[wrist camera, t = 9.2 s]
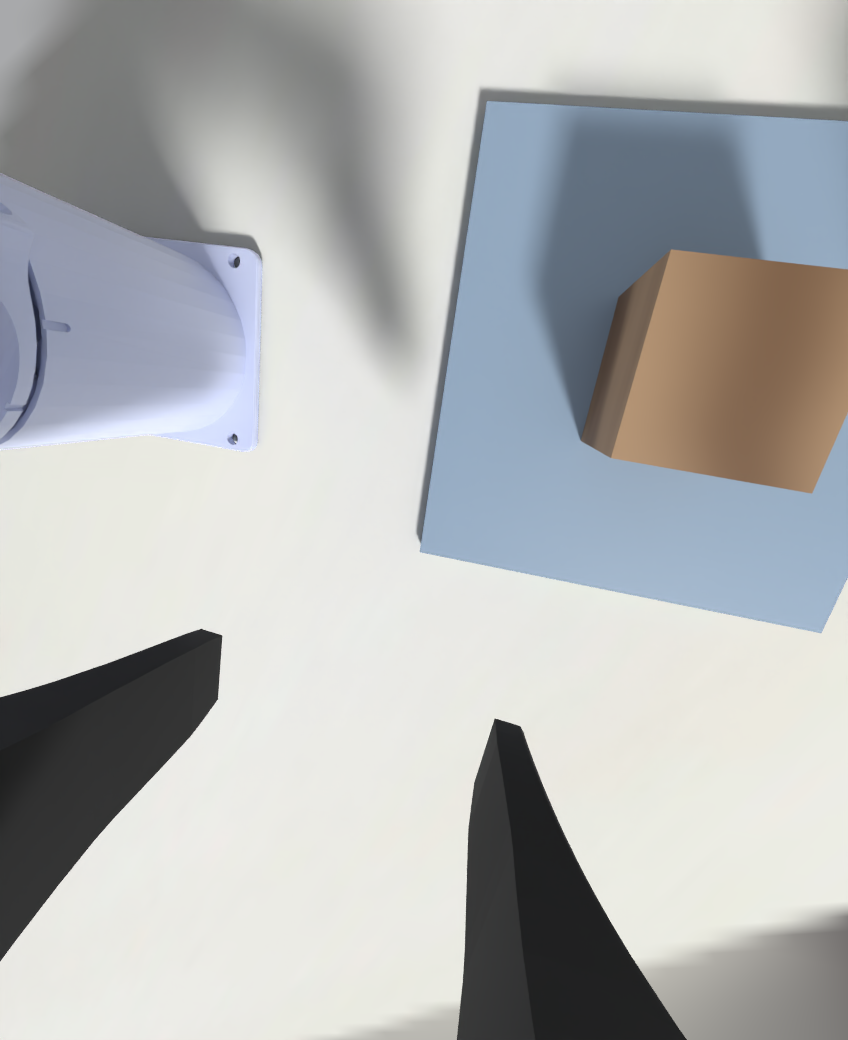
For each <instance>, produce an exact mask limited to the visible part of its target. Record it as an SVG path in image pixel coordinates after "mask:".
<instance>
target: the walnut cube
mask: <svg viewBox="0 0 848 1040" xmlns="http://www.w3.org/2000/svg"><path fill="white" fill-rule="evenodd" d="M847 413H848V269H840V268H831V267H822V266H813V265H804V264H796V263H787V262H778V261H769V260H760V259H751V258H743V257H734V256H725V255H716V254H707V253H698V252H689V251H681V250H672V249H671V250H670V251H669V252H668V253H666V254H665V255H664V256H663V257H662V258H661V259H660V260H659V261H658V262H657V263H655V264H654V265H653V266H652V267H651V268H650V269H649V270H648V271H647V272H645V273H644V274H643V275H642V276H641V277H640V278H639V279H638V280H637V281H636V282H634V283H633V284H632V285H631V286H630V287H629V288H628V289H627V290H626V291H624V292H623V293H622V294H621V295H620V296H619V297H618V301H617V305H616V308H615V312H614V316H613V320H612V324H611V327H610V331H609V335H608V339H607V343H606V346H605V350H604V354H603V358H602V362H601V365H600V369H599V373H598V377H597V381H596V384H595V388H594V392H593V396H592V400H591V403H590V407H589V411H588V415H587V419H586V422H585V426H584V430H583V434H582V438H581V441H582V442H583V443H585V444H587V445H589V446H590V447H592V448H594V449H596V450H597V451H599V452H601V453H603V454H604V455H606V456H608V457H610V458H613V459H618V460H624V461H630V462H635V463H641V464H647V465H652V466H658V467H664V468H669V469H675V470H681V471H686V472H692V473H698V474H703V475H709V476H715V477H720V478H726V479H732V480H737V481H743V482H749V483H754V484H760V485H766V486H771V487H777V488H783V489H788V490H794V491H800V492H805V493H811V494H812V493H813V491H814V488H815V486H816V484H817V481H818V479H819V477H820V475H821V472H822V470H823V468H824V466H825V463H826V461H827V459H828V456H829V454H830V452H831V450H832V447H833V445H834V443H835V441H836V438H837V436H838V434H839V431H840V429H841V427H842V425H843V422H844V420H845V418H846V416H847Z"/></svg>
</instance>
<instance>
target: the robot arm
mask: <svg viewBox="0 0 848 1040" xmlns="http://www.w3.org/2000/svg"><path fill="white" fill-rule="evenodd" d="M238 256H239V257H240V265H239V266H238V267H237V268H235V266H234V260H235V258H236V257H238ZM261 297H262V260H261V258H260V256H259V255H258V254H257V253H256V252H255V251H253V250H251V249H248V248H243V247H234V246H225V245H215V244H206V243H197V242H188V241H179V240H170V239H161V238H152V237H143V236H141V235H139V234H137V233H134V232H132V231H130V230H128V229H125V228H123V227H121V226H119V225H116V224H114V223H112V222H110V221H107V220H105V219H103V218H101V217H98V216H96V215H94V214H92V213H89V212H87V211H85V210H83V209H80V208H78V207H76V206H74V205H71V204H69V203H67V202H65V201H63V200H60V199H58V198H56V197H54V196H51V195H49V194H47V193H45V192H42V191H40V190H38V189H36V188H33V187H31V186H29V185H27V184H24V183H22V182H20V181H18V180H15V179H13V178H11V177H9V176H6V175H4V174H2V173H0V450H8V449H18V448H28V447H38V446H47V445H57V444H67V443H77V442H86V441H96V440H106V439H116V438H125V437H135V436H145V435H153V436H158V437H164V438H170V439H175V440H181V441H186V442H192V443H197V444H203V445H208V446H214V447H220V448H225V449H231V450H236V451H242V452H248V451H252V450H254V449H255V448H256V446H257V443H258V411H259V373H260V335H261ZM233 434H236V435H237V437H238V442H237V443H235V442H234V441H233V438H232V436H233ZM221 646H222V635H219V634H216V633H212V632H209V631H206V630H203V629H200V630H197V631H194V632H190V633H188V634H185V635H182V636H179V637H177V638H174V639H171V640H169V641H166V642H163V643H161V644H158V645H156V646H153V647H150V648H148V649H145V650H142V651H140V652H137V653H134V654H132V655H129V656H126V657H124V658H121V659H118V660H116V661H113V662H110V663H108V664H105V665H102V666H99V667H96V668H93V669H90V670H87V671H84V672H81V673H78V674H75V675H73V676H70V677H67V678H64V679H61V680H58V681H55V682H52V683H49V684H45V685H42V686H39V687H35V688H32V689H29V690H25V691H22V692H18V693H15V694H11V695H7V696H4V697H0V961H1V960H2V958H3V957H4V956H5V954H6V953H7V951H8V950H9V949H10V947H11V946H12V945H13V943H14V942H15V941H16V939H17V938H18V937H19V935H20V934H21V933H22V932H23V930H24V929H25V928H26V926H27V925H28V924H29V922H30V921H31V920H32V919H33V917H34V916H35V915H36V913H37V912H38V911H39V909H40V908H41V907H42V906H43V904H44V903H45V902H46V900H47V899H48V898H49V896H50V895H51V894H52V893H53V891H54V890H55V889H56V887H57V886H58V885H59V884H60V882H61V881H62V880H63V879H64V877H65V876H66V875H67V874H68V872H69V871H70V870H71V869H72V867H73V866H74V865H75V864H76V862H77V861H78V860H79V859H80V857H81V856H82V855H83V854H84V852H85V851H86V850H87V849H88V847H89V846H90V845H91V844H92V843H93V841H94V840H95V839H96V838H97V837H98V835H99V834H100V833H101V832H102V831H103V830H104V829H105V828H106V826H107V825H108V824H109V823H110V822H111V821H112V820H113V818H114V817H115V816H116V815H117V814H118V813H119V812H120V811H121V810H122V809H123V808H124V807H125V806H126V805H127V804H128V803H129V801H130V800H131V799H132V798H133V797H134V796H135V795H136V794H137V793H138V792H139V791H140V790H141V789H142V788H143V787H144V786H145V784H146V783H147V782H148V781H149V780H150V779H151V778H152V777H153V776H154V775H155V774H156V773H157V772H158V771H159V770H160V769H161V767H162V766H163V765H164V764H165V763H166V762H167V761H168V760H169V759H170V758H171V757H172V756H173V755H174V754H175V752H176V751H177V750H178V749H179V748H180V747H181V746H182V745H183V744H184V743H185V742H186V740H187V739H188V738H189V737H190V736H191V735H192V734H193V732H194V731H195V730H196V728H197V727H198V726H199V724H200V723H201V722H202V721H203V719H204V718H205V716H206V715H207V714H208V712H209V711H210V709H211V708H212V707H213V705H214V704H215V702H216V701H217V700H218V689H219V674H220V660H221ZM457 1040H687V1039H686V1038H685V1037H684V1035H683V1034H682V1032H681V1031H680V1030H679V1028H678V1027H677V1025H676V1024H675V1022H674V1021H673V1019H672V1018H671V1016H670V1015H669V1013H668V1012H667V1010H666V1009H665V1007H664V1006H663V1004H662V1003H661V1001H660V1000H659V998H658V997H657V995H656V993H655V992H654V990H653V989H652V987H651V986H650V984H649V983H648V981H647V980H646V978H645V977H644V975H643V974H642V972H641V971H640V969H639V967H638V966H637V964H636V963H635V961H634V960H633V958H632V957H631V955H630V954H629V952H628V950H627V949H626V947H625V945H624V944H623V942H622V940H621V939H620V937H619V935H618V934H617V932H616V930H615V929H614V927H613V925H612V924H611V922H610V920H609V918H608V917H607V915H606V913H605V911H604V910H603V908H602V906H601V904H600V902H599V901H598V899H597V897H596V895H595V894H594V892H593V890H592V888H591V886H590V884H589V882H588V881H587V879H586V877H585V875H584V873H583V871H582V869H581V867H580V865H579V863H578V861H577V859H576V857H575V855H574V853H573V851H572V849H571V847H570V845H569V843H568V841H567V839H566V837H565V835H564V833H563V830H562V828H561V826H560V824H559V822H558V819H557V817H556V815H555V813H554V810H553V808H552V806H551V803H550V801H549V799H548V796H547V794H546V792H545V789H544V787H543V784H542V782H541V780H540V777H539V774H538V772H537V769H536V767H535V764H534V761H533V759H532V756H531V753H530V750H529V748H528V745H527V742H526V739H525V736H524V733H523V730H522V729H521V727H520V726H518V725H514V724H511V723H508V722H505V721H501V720H498V719H495V720H494V723H493V726H492V729H491V732H490V735H489V739H488V742H487V745H486V748H485V751H484V754H483V757H482V761H481V764H480V767H479V770H478V773H477V776H476V779H475V783H474V790H473V798H472V805H471V813H470V821H469V831H468V861H467V896H466V931H465V957H464V974H463V986H462V995H461V1005H460V1015H459V1025H458V1035H457Z"/></svg>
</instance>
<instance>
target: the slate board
mask: <svg viewBox="0 0 848 1040" xmlns="http://www.w3.org/2000/svg"><path fill="white" fill-rule="evenodd" d="M671 249H672V250H681V251H689V252H698V253H707V254H716V255H725V256H734V257H743V258H751V259H760V260H769V261H778V262H787V263H796V264H804V265H813V266H822V267H831V268H840V269H848V121H836V120H818V119H801V118H783V117H765V116H747V115H729V114H711V113H693V112H676V111H658V110H640V109H622V108H604V107H586V106H569V105H551V104H533V103H515V102H497V101H487V104H486V111H485V118H484V124H483V131H482V138H481V144H480V151H479V158H478V165H477V171H476V178H475V185H474V191H473V198H472V205H471V212H470V218H469V225H468V232H467V238H466V245H465V252H464V259H463V265H462V272H461V279H460V285H459V292H458V299H457V306H456V312H455V319H454V326H453V332H452V339H451V346H450V353H449V359H448V366H447V373H446V379H445V386H444V393H443V399H442V406H441V413H440V420H439V426H438V433H437V440H436V446H435V453H434V460H433V467H432V473H431V480H430V487H429V493H428V500H427V507H426V514H425V520H424V527H423V534H422V540H421V547H420V552H422V553H427V554H432V555H437V556H442V557H447V558H452V559H457V560H462V561H466V562H471V563H476V564H481V565H486V566H491V567H496V568H501V569H506V570H511V571H516V572H521V573H526V574H531V575H536V576H541V577H546V578H551V579H556V580H561V581H565V582H570V583H575V584H580V585H585V586H590V587H595V588H600V589H605V590H610V591H615V592H620V593H625V594H630V595H635V596H640V597H645V598H650V599H655V600H660V601H664V602H669V603H674V604H679V605H684V606H689V607H694V608H699V609H704V610H709V611H714V612H719V613H724V614H729V615H734V616H739V617H744V618H749V619H754V620H758V621H763V622H768V623H773V624H778V625H783V626H788V627H793V628H798V629H803V630H808V631H813V632H818V633H822V631H823V628H824V626H825V624H826V622H827V620H828V618H829V616H830V614H831V612H832V610H833V607H834V605H835V603H836V601H837V599H838V597H839V595H840V593H841V591H842V589H843V586H844V584H845V582H846V580H847V578H848V413H847V416H846V418H845V420H844V422H843V425H842V427H841V429H840V431H839V434H838V436H837V438H836V441H835V443H834V445H833V447H832V450H831V452H830V454H829V456H828V459H827V461H826V463H825V466H824V468H823V470H822V472H821V475H820V477H819V479H818V481H817V484H816V486H815V488H814V491H813V493H812V494H811V493H805V492H800V491H794V490H788V489H783V488H777V487H771V486H766V485H760V484H754V483H749V482H743V481H737V480H732V479H726V478H720V477H715V476H709V475H703V474H698V473H692V472H686V471H681V470H675V469H669V468H664V467H658V466H652V465H647V464H641V463H635V462H630V461H624V460H618V459H613V458H610V457H608V456H606V455H604V454H603V453H601V452H599V451H597V450H596V449H594V448H592V447H590V446H589V445H587V444H585V443H583V442H582V441H581V438H582V434H583V430H584V426H585V422H586V419H587V415H588V411H589V407H590V403H591V400H592V396H593V392H594V388H595V384H596V381H597V377H598V373H599V369H600V365H601V362H602V358H603V354H604V350H605V346H606V343H607V339H608V335H609V331H610V327H611V324H612V320H613V316H614V312H615V308H616V305H617V301H618V297H619V296H620V295H621V294H622V293H623V292H624V291H626V290H627V289H628V288H629V287H630V286H631V285H632V284H633V283H634V282H636V281H637V280H638V279H639V278H640V277H641V276H642V275H643V274H644V273H645V272H647V271H648V270H649V269H650V268H651V267H652V266H653V265H654V264H655V263H657V262H658V261H659V260H660V259H661V258H662V257H663V256H664V255H665V254H666V253H668V252H669V251H670V250H671Z"/></svg>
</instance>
